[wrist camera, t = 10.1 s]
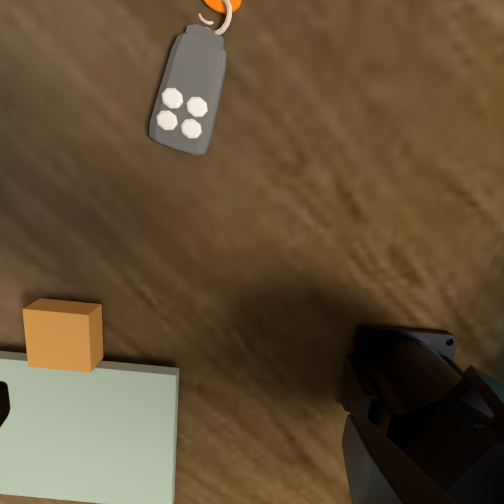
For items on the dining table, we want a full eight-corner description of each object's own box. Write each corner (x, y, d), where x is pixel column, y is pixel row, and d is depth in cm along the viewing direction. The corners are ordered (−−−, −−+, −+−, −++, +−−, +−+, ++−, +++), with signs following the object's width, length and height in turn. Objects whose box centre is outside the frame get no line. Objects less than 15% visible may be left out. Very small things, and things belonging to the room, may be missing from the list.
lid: (185, 307, 21) (176, 323, 19) (177, 486, 25) (169, 517, 23) (-31, 286, 21) (-66, 300, 19) (-4, 468, 25) (-30, 498, 23)
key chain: (211, 161, 19) (207, 160, 17) (151, 140, 18) (142, 138, 17) (284, -97, 15) (287, -124, 14) (213, -125, 15) (208, -156, 14)
